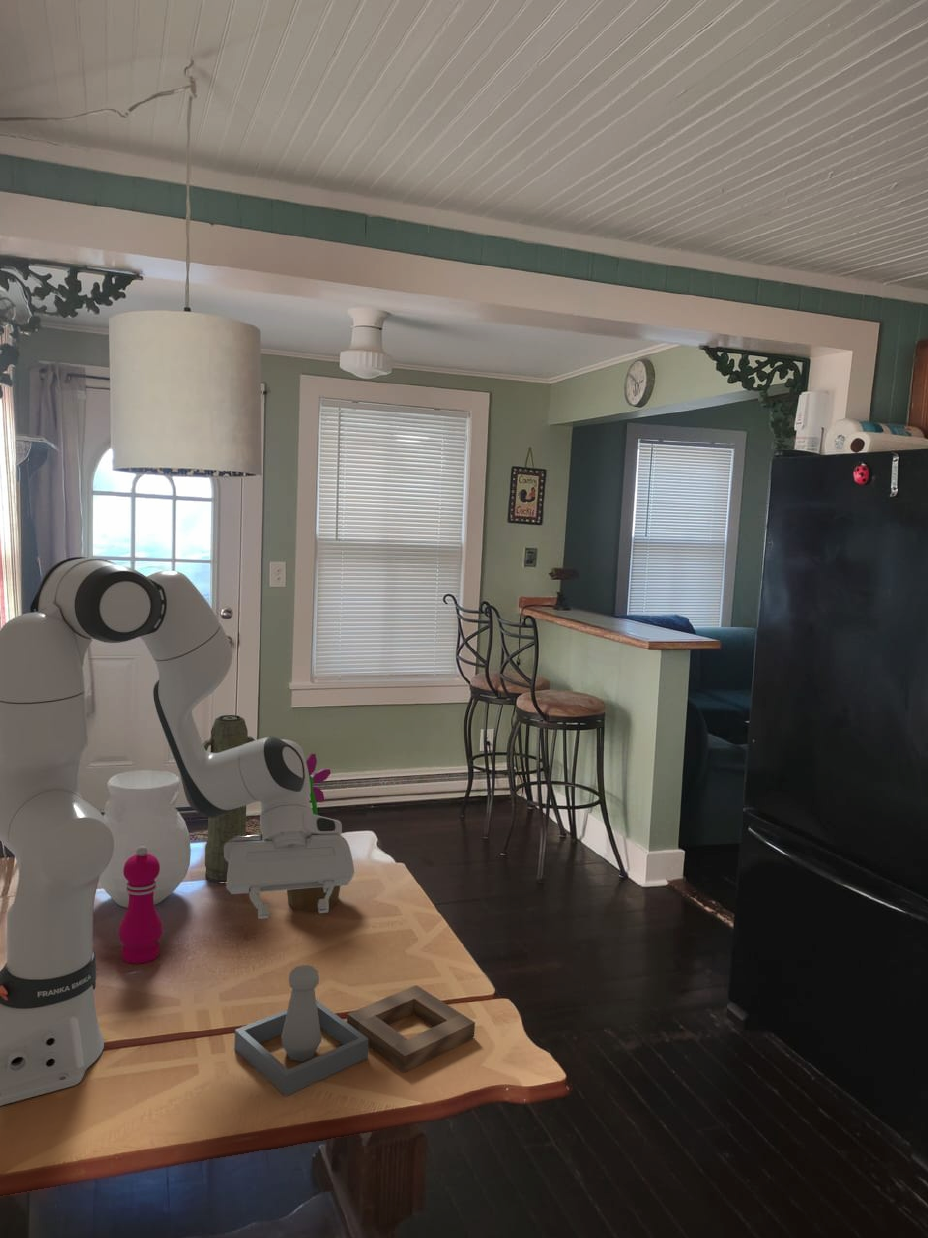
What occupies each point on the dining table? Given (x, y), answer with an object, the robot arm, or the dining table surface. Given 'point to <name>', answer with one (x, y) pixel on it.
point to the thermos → (226, 826)
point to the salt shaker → (302, 1015)
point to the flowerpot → (310, 896)
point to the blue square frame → (307, 1071)
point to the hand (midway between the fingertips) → (294, 914)
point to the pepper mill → (140, 909)
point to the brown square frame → (421, 1047)
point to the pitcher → (145, 830)
